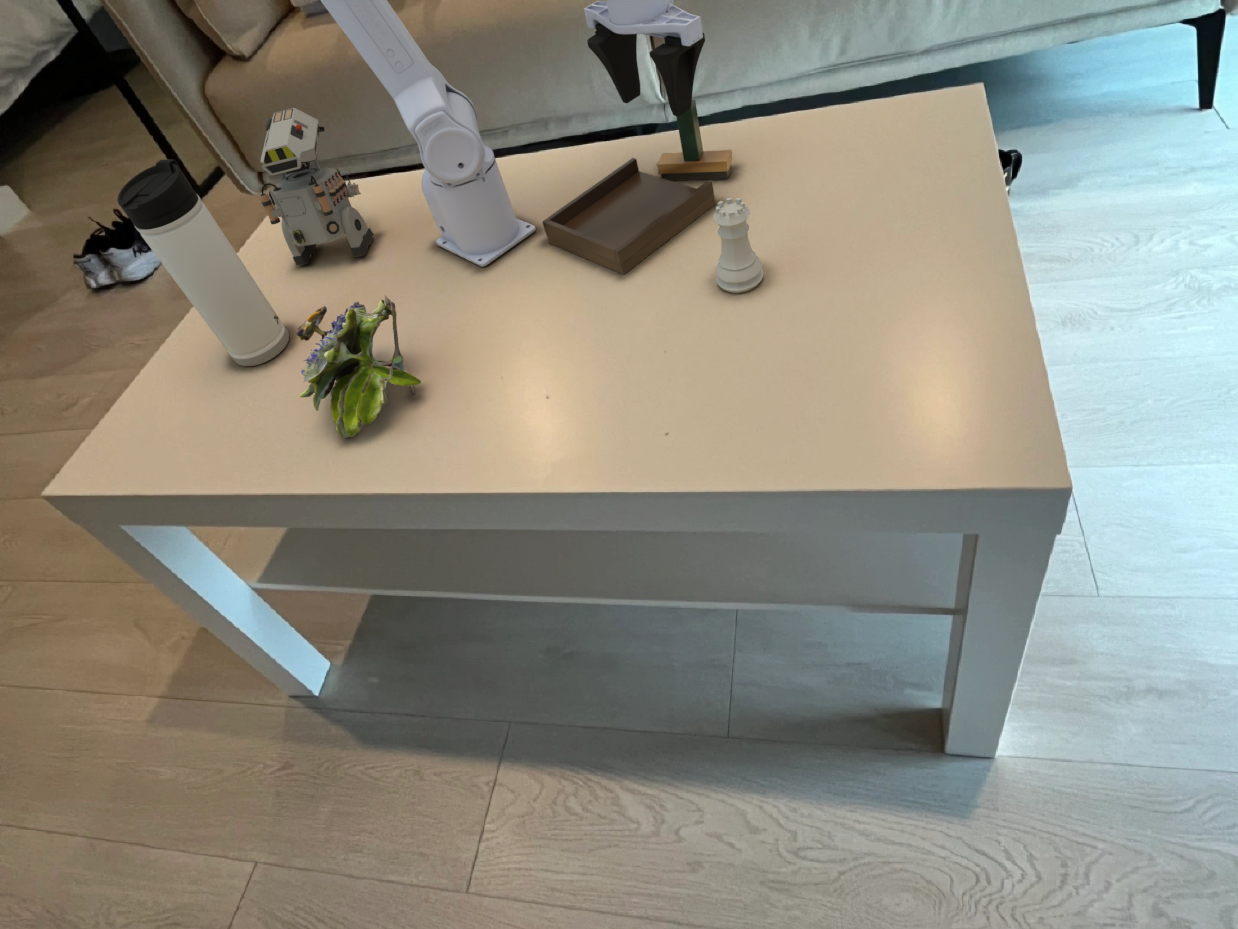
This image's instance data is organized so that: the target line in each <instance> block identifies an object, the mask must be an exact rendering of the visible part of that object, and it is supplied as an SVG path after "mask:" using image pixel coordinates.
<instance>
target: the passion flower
mask: <svg viewBox="0 0 1238 929" xmlns="http://www.w3.org/2000/svg"><path fill="white" fill-rule="evenodd" d="M327 312H328V308H327V306H326V305H323V306H321V307H320V308H319V309H317V310H316V311H315V312H313V313H311V314H310V315H309V316H308V317H307V319H306V320H305V321H304V323H302V324H301V325H300V326H299V327H298V328H297V329H296V331H295V332H296V333H295V335H296V336H297V337H298V338H299V339H298V340H299V341H306V342H307V341H309V340H310V339H311V338H312V337H313V336H314V334H315V333H317V334H318V335H320V336H321V339H319V342H318V343H317V342H316V343H315V345H316V346H317V347H316V348H314V349H311V352H310V353H309V356H308V357H307V358H306V359H304V360H303V363H306V365H305V366H304V367H303V368H301V369H300V370H301V371H300V373H301V375H302V376H304V377H303V380H304V381H303V383H305V382H307V383H309V385H308V387H307V388H306V390H305V391H302V393H300V394H299V397H300V398H309V397H312V395H313V398H312V402H313V408H314V410H315V411H317V412H318V411H319V408H320V405H321V401H322V400H323V399H326V397H327V396H328V395H329V394H330V412H331V417H332V419H333V424H334V425H335V430H336V433H337V434H339V436H341V437H343V438H345V439H349V438H353V437H355V436H356V435H357V434H358V433H359V432H360V431H361V430H362V428H363V427H364V426H370V425H371V424H373V423H374V421H375V420H376V419H377V417H378V416H379V414H380V412H381V410H382V408H383V405H387V404H388V401H389V400H388V396H387V383H388V382H389V383H390V384H392V385H395V386H396V385H397V386H399V387H408V388H409V389H410V392H411V393H412V394H413V395H415V394H416V391H415V390H414V386H418V385H421V384H422V380H421V379H419V378H418V377H417V376H416V375H413V374H411V373H410V372H408V371H407V368H406V366H405V362H404V356H403V355H402V353H401V350H400V344H399V336H398V335H399V334H398V326H397V325H398V324H397V311H396V304H395V302H394V301H391V299H389V298H388V297H387V295H384V299H380V300H379V302H378V305H377V307H376V308H375V309H373V311H371V313H367V310H366V306H365V305H364V304H361V303H360V302H359V301H355V302H353V304H352V305H349V307H346V308H345V311H344V312H343V314H342V313H340V314H339V315H336V320H333V321H332V322H331V323H330V325H331V328H330V329H329V330H327V331H325V330H323V329H321V328H320V326H319V325H320V324H321V323H322V322H323V319H324V317H325V315H326V314H327ZM390 316H392V317H391V318H392V332H393V344H394V351H393V355H392V356H391V359H389V360H378V359H376V358H375V357H374V354H373V350H374V336H375V334H376V332H377V331H378V328H380V325H381V323H382V322H384V321H387V320H389V319H390Z"/></svg>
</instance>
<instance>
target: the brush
mask: <svg viewBox="0 0 1238 929" xmlns="http://www.w3.org/2000/svg"><path fill="white" fill-rule="evenodd" d="M675 118H676V122H677V129H678V134H679V140H680V145H681V152H680V151H679V152H663V153H662V154H661V156H660V157H659V159H658V161H657V163H656V167H657V172H658V175H661V178H663V179H666V180H670V181H673V182H674V181H695V180H696V181H697V180H721V179H722V180H724V179H725V180H726V179H728V178H729V176H730V174H731V172H732V162H733V160H734V159H733V151H732V149H723V150H705V151H704V148H703V142H702V134H701V128H700V121H699V115H698V109H697V102H696V99H692V104H691V109H689V110H688V111H686V112H685V113H683V114H682V115H680V116H675Z"/></svg>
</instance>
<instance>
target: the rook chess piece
mask: <svg viewBox="0 0 1238 929" xmlns="http://www.w3.org/2000/svg"><path fill="white" fill-rule="evenodd" d="M725 200H726V203H725V202H724V201H723V200H720V201H719V202H717V206H715V212H714V214H713V216H712V219H713V222H715V223H716V224H717V225H718V226H719V228H718V230H717V235H718V236H719V237H720V240H721V241H720V242H721V245H720V246H721V252H720V256H719V258H718V262H717V264H716V266H715V275H716V277H715V278H716V279H715V281H716V284H717V285H718V287H720V288H721V289H722V290H724V291H726V292H729V293H733V294H740V293H745V292H749V291H750V290H753V289H755V287H757V286H758V285H759V284H760V282H761V281H762V280H763V277H764V269H763V265H762V261H761V259H760V257H759V256H758V255H757V254H756V252H755V251H754V250H753V249H752V246H751V242H750V240H749V233H748V232H749V230H750V225H749V224H748V222H747V220H748V219H749V217H750V215H751V211H750V208H748V206H746V204H745V200H743V199H742V198H740V197H736V198H735V201H733V196H732V197H731V196H730V197H727V198H725ZM742 200H743V201H742Z"/></svg>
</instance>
